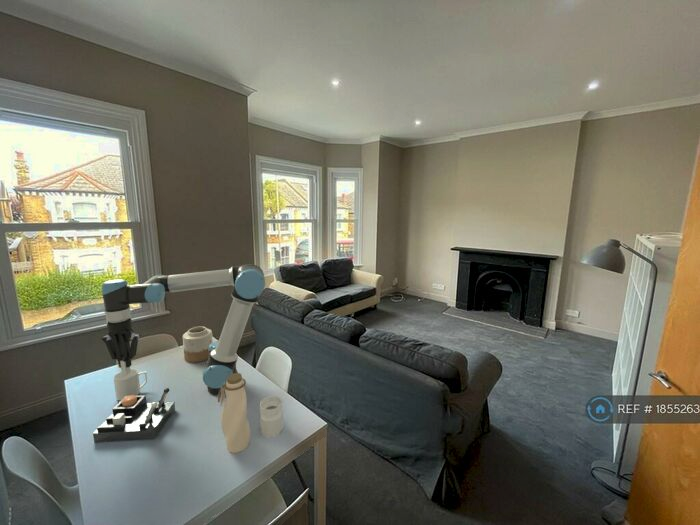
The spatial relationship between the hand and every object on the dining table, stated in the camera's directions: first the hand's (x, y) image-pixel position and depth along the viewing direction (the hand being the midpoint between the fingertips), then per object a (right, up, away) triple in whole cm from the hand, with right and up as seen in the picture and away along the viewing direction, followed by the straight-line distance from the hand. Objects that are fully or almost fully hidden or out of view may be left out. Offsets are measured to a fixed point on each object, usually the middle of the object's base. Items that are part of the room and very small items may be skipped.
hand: (126, 374), depth 115 cm
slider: (+2, -17, -6) cm, 18 cm away
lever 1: (+12, -16, -5) cm, 21 cm away
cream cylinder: (+59, -22, -1) cm, 63 cm away
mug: (-11, -17, +18) cm, 27 cm away
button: (0, -15, +3) cm, 15 cm away
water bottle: (+48, -23, -9) cm, 54 cm away
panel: (+5, -21, 0) cm, 21 cm away
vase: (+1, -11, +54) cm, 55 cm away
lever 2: (+11, -14, +4) cm, 19 cm away
